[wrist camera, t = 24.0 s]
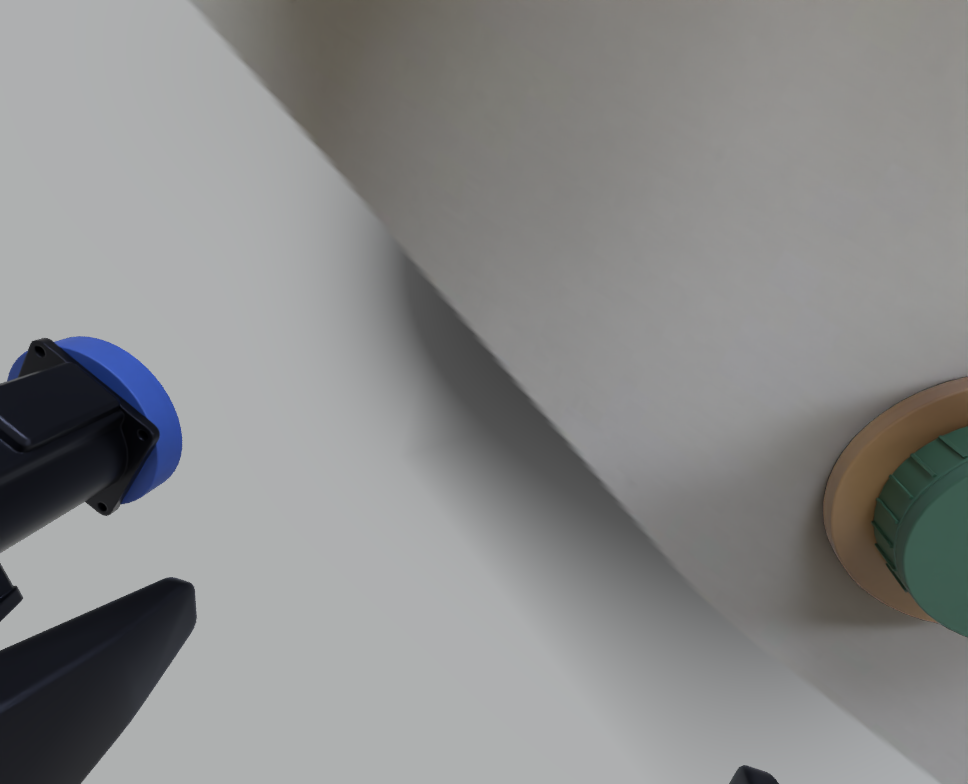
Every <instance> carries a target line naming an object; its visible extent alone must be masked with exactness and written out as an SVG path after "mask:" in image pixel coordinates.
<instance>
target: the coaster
mask: <svg viewBox="0 0 968 784" xmlns="http://www.w3.org/2000/svg"><path fill="white" fill-rule="evenodd" d="M966 426H968V377H964V378H960V379H956V380H952V381H948V382H945V383H942V384H939V385H937V386H934V387H931V388H928V389H926V390H923V391H921V392H919V393H917V394H915V395H913V396H911V397H908V398H906V399H904V400H902V401H901V402H899V403H897V404H896V405H894V406H893V407H891V408H889V409H888V410H886V411H884V412H883V413H882V414H881V415H879V416H878V417H877V418H875V419H874V420H873V421H871V422H870V423H869V424H868V425H867V426H866V427H865V428H864V429H862V430H861V431H860V432H859V433H858V434H857V435H856V436H855V437H854V438H853V440H852V441H851V442H850V443H849V445H848V446H847V447H846V448H845V450H844V451H843V452H842V454H841V456H840V457H839V459H838V460H837V462H836V464H835V465H834V468H833V470H832V472H831V475H830V477H829V479H828V482H827V486H826V490H825V494H824V504H823V517H824V526H825V530H826V533H827V537H828V540H829V542H830V544H831V546H832V548H833V550H834V552H835V554H836V556H837V557H838V559H839V561H840V562H841V564H842V565H843V567H844V568H845V570H846V571H847V572H848V574H849V575H850V577H851V578H852V579H853V580H854V581H855V582H856V583H857V584H858V585H859V586H860V587H861V588H862V589H864V590H865V591H866V592H867V593H869V594H870V595H871V596H872V597H874V598H876V599H877V600H879V601H881V602H882V603H884V604H885V605H887V606H889V607H891V608H893V609H895V610H898V611H900V612H902V613H904V614H907V615H910V616H913V617H916V618H919V619H922V620H926V621H930V622H934V623H938V622H936V621H935V620H934V619H933V618H931V617H930V616H929V615H928V614H926V613H925V612H924V611H923V610H922V609H921V608H920V606H919V605H918V604H917V603H916V602H915V600H914V599H913V598H912V596H911V595H910V593H909V592H906V593H905V591H904V590H903V589H902V587H901V586H900V584H899V583H898V582H897V580H896V579H895V577H894V576H893V574H892V573H891V572H890V570H889V569H888V567H887V566H886V565H885V564H886V563H887V562H886V561H885V559H884V558H883V556H882V555H881V554H880V552H879V551H878V549H877V548H876V547H875V545H874V543H877V542H876V538H875V534H874V527H873V525H872V524H871V521H874V513H875V507H876V504H877V501H876V498H878V497H879V495H880V493H881V491H882V489H883V487H884V485H885V484H886V482H887V481H888V479H889V475H890V474H891V475H892V474H893V473H894V472H895V470H896V469H897V468H898V467H899V466H900V465H901V464H902V463H903V462H904V461H905V460H906V459H907V458H909V457H910V454H911V453H915V452H916V451H918V450H919V449H920V448H922V447H923V446H925V445H926V444H928V443H930V442H932V441H933V440H935V439H937V438H938V436H940V435H942V436H943V435H945V434H948V433H950V432H952V431H954V430H957V429H960V428H963V427H966ZM939 624H940V623H939Z"/></svg>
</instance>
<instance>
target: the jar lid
mask: <svg viewBox="0 0 968 784" xmlns="http://www.w3.org/2000/svg"><path fill="white" fill-rule="evenodd" d="M876 501H877V504H876V507H875V513H874V521H871V524H872V525H873V527H874V534H875V538H876V542H877V543H874V545H875V547H876V548H877V549H878V551H879V552H880V554H881V555H882V556H883V558H884V559H885V561H886V562H887V563H886V564H885V565H886V566H887V567H888V569H889V570H890V572H891V573H892V574H893V576H894V577H895V579H896V580H897V582H898V583H899V584H900V586H901V587H902V589H903V590H904V591H905V593H906V592H909V593H910V595H911V596H912V598H913V599H914V600H915V602H916V603H917V604H918V605H919V606H920V608H921V609H922V610H923V611H924V612H925V613H926V614H928V615H929V616H930V617H931V618H933V619H934V620H935V621H936V622H938V623H940V624H941V625H943V626H945V627H946V628H948V629H950V630H952V631H954V632H956V633H958V634H960V635H963V636H965V637H968V426H966V427H963V428H960V429H957V430H954V431H952V432H950V433H948V434H945V435H943V436H942V435H940V436H938V438H937V439H935V440H933V441H932V442H930V443H928V444H926V445H925V446H923V447H922V448H920V449H919V450H918V451H916V452H915V453H911V454H910V457H909V458H907V459H906V460H905V461H904V462H903V463H902V464H901V465H900V466H899V467H898V468H897V469H896V470H895V472H894V473H893V474H892V475H891V474H890V475H889V479H888V481H887V482H886V484H885V485H884V487H883V489H882V491H881V493H880V495H879V497H878V498H876Z"/></svg>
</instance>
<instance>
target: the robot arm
mask: <svg viewBox="0 0 968 784" xmlns="http://www.w3.org/2000/svg"><path fill="white" fill-rule="evenodd" d="M159 438H160V432H159V430H158V428H157V427H156V426H155V424H153V423H152V422H151V421H150V420H148V419H147V418H146V417H145V416H144V415H142V414H141V413H140V412H139V411H137V410H136V409H135V408H134V407H133V406H131V405H130V404H129V403H128V402H126V401H125V400H124V399H123V398H122V397H120V396H119V395H118V394H117V393H115V392H114V391H113V390H112V389H111V388H109V387H108V386H107V385H106V384H104V383H103V382H102V381H101V380H100V379H98V378H97V377H96V376H95V375H93V374H92V373H91V372H90V371H89V370H87V369H86V368H85V367H84V366H82V365H81V364H80V363H79V362H78V361H76V360H75V359H74V358H73V357H71V356H70V355H69V354H68V353H67V352H65V351H64V350H63V349H62V348H60V347H59V346H58V345H57V344H56V343H54V342H53V341H52V340H50V339H48V338H42V339H39V340H35V341H32V343H31V344H30V347H29V349H28V352H27V354H26V357H25V360H24V362H23V365H22V367H21V370H20V373H19V375H18V378H16V379H13V380H10V381H7V382H4V383H1V384H0V553H1V552H3V551H5V550H6V549H8V548H9V547H11V546H13V545H14V544H16V543H18V542H19V541H21V540H23V539H24V538H26V537H28V536H29V535H31V534H32V533H34V532H36V531H37V530H39V529H41V528H42V527H44V526H46V525H47V524H48V523H51V522H52V521H54V520H55V519H57V518H59V517H60V516H62V515H64V514H65V513H67V512H69V511H70V510H71V509H74V508H75V507H77V506H78V505H80V504H82V503H83V502H86V503H87V504H89V505H90V506H91V507H92V508H94V509H95V510H96V511H97V512H99V513H100V514H102V515H105V516H107V515H110V514H111V513H113V512H114V511H116V510H117V509H118V508H119V506H120V504H121V502H122V501H123V499H124V497H125V496H126V494H127V492H128V491H129V489H130V487H131V486H132V484H133V482H134V480H135V479H136V477H137V475H138V474H139V472H140V470H141V469H142V467H143V465H144V464H145V462H146V460H147V459H148V457H149V455H150V453H151V452H152V450H153V448H154V447H155V445H156V443H157V442H158V440H159ZM22 599H23V597H22V595H21V593H20V591H19V589H18V587H17V586H13V585H12V583H11V581H10V580H9V578H8V576H7V574H6V572H5V571H4V569H3V567H2V566H1V564H0V621H1V620H2V619H3V618H4V617H5V616H6V615H7V614H9V613H10V612H11V610H13V609H14V608H15V607H16V606H17V605H18V604H19V603H20V602H21V600H22ZM196 618H197V615H196V601H195V589H194V586H193V585H192V584H191V583H190V582H186V581H184V580H181V579H178V578H173V577H169V578H165V579H162V580H160V581H158V582H156V583H153V584H151V585H149V586H146V587H145V588H142V589H140V590H138V591H135V592H133V593H131V594H128V595H126V596H124V597H121V598H119V599H117V600H115V601H112V602H110V603H108V604H106V605H103V606H101V607H99V608H96V609H94V610H92V611H89V612H87V613H85V614H83V615H80V616H78V617H76V618H74V619H71V620H69V621H67V622H64V623H62V624H60V625H58V626H55V627H53V628H51V629H48V630H46V631H44V632H42V633H39V634H37V635H35V636H32V637H30V638H28V639H26V640H23V641H21V642H19V643H16V644H14V645H12V646H10V647H7V648H5V649H3V650H1V651H0V784H81V782H82V781H83V780H84V779H85V778H86V776H87V775H88V774H89V773H90V771H91V770H92V769H93V768H94V767H95V765H96V764H97V763H98V762H99V760H100V759H101V758H102V757H103V755H104V754H105V753H106V752H107V751H108V749H109V748H110V747H111V746H112V744H113V743H114V742H115V741H116V739H117V738H118V737H119V736H120V734H121V733H122V732H123V730H124V729H125V728H126V727H127V725H128V724H129V723H130V722H131V720H132V719H133V717H134V716H135V715H136V713H137V712H138V710H139V709H140V707H141V706H142V705H143V703H144V702H145V700H146V699H147V697H148V696H149V694H150V693H151V691H152V690H153V688H154V687H155V686H156V684H157V683H158V681H159V680H160V678H161V677H162V675H163V674H164V672H165V671H166V669H167V668H168V666H169V665H170V663H171V662H172V660H173V659H174V657H175V656H176V655H177V653H178V652H179V650H180V649H181V647H182V646H183V644H184V643H185V641H186V640H187V638H188V637H189V635H190V634H191V632H192V630H193V628H194V626H195V623H196ZM729 784H779V783H778V782H777V780H776V779H774V777H773V776H772V775H771V774H769V773H767V772H765V771H762V770H759V769H755V768H752V767H749V766H745V765H743V766H741V767H739V769H738V770H737V771H736V773H735V775H734V776H733V778H732V780H731V782H730V783H729Z"/></svg>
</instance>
